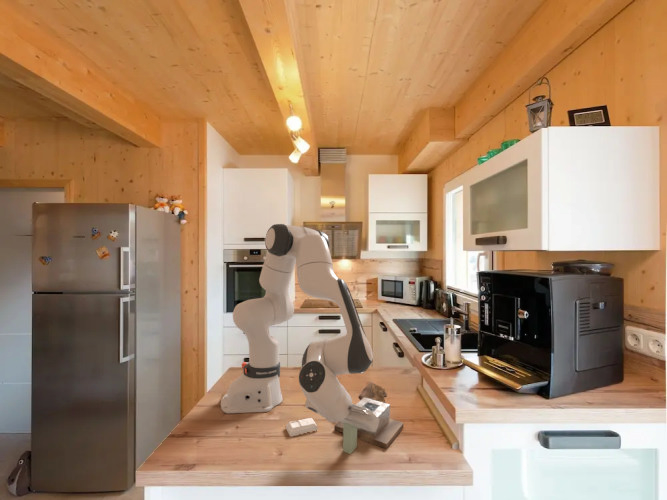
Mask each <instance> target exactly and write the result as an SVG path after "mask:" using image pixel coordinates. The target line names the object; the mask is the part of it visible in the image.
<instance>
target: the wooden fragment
mask: <svg viewBox="0 0 667 500" xmlns="http://www.w3.org/2000/svg"><path fill="white" fill-rule="evenodd" d="M387 396H388V393H387V392H386V391H385V388H383V387H381V386H380V385H377V384H376V383H374V382H372V381H369V383H367V385H365V387H364V388H363V390H362V391H361V393H360V394H359V396H358V398H360V400H362V399H363V398H364V397H365V398H369V399H372V400H376V401H379V402H383V403H386V399H385V397H387Z"/></svg>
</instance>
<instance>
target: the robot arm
mask: <svg viewBox="0 0 667 500" xmlns="http://www.w3.org/2000/svg"><path fill="white" fill-rule="evenodd" d="M264 243H265V249H266V251H267V253H266V256H265V259H264V261H263V265H262V268H261V271H260V275H259V280H258V281H259V285H260V287H261V288H262V289H263V290H265V294H264V296H263V297H257V298H251V299H247V300H244V301H242V302H240V303H238V304H236V305H235V306H234V309H233V312H232V320H233V323H234V325H235V326H236V328H238V329H239V330H240V331H241V332H243V333H244V334H245V336H246V340H247V342H248V355H249V356H248V357H249V359H248V360H249V361H248V363H247V362H246V361H243V362H242V363H241V368H242V372H243V373H242V374H241V375H240V376H239V377H237V378H236V379H235V380H233V381H232V382H231V383H230V385H229V387H228V390H227V393H226V394H225V395H224V396H222V398H221V400H220V409H221V410H222V412H224V413H225V414H247V413H265V412H270V411H271V410H272V409H273V408H274V407H276V406H278V405H279V404H281V403H282V401H283V400H284V399H283V395H282V390H281V386H280V385H281V384H280V376H281V362H280V343H279V340H277V338H276V337H274V336H272V335H271V333H270V327H271V326H275V325H281V324H283V323H285V322H287V321H289V320H291V318H293V316H294V313H295V305H294V302H293V301H292V299H291V298H290V296H289V288H290V284H291V280H292V277H293V273H294V270H295V268H296V276H297V283H298V287H299V288H300V289H301V291H302V292H303V293H304V294H306V295H308V296H310V297H312V298H314V299H320V300H324V301H329V302H334V303H335V304H336V305H337V306H338V307H339V311H340V315H341V317H342V320H343V323H344V327H345V329H346V335H343V336H337V337H332V338H326V339H321V340H316V341H312V342H310V343H309V344H308V346H307V347H306V349H305V351H304V352H303V355H302V359H301V368H300V369H299V373H298V383H299V387H300V389H301V391H302V393H303V395H304V396H305V398H306V400H305V403H304V407H306V409H308V410H309V411H310V410H311V411H312V412H314V413H316V414H318V415H320V416H321V417H323V418H324V419H325V420H327V421H328V422H331V423H338V422H341V423H347V424H350V425H353V426H355V427H356V428H359V429H360V428H361V429H364V430H367V431H370V432H376V430H377V427H378V424H379V419H378V417H377V416H376V415H375V414H374V413H373V412H372V411H370V410H369V409H367V408H364V407H361V406H358V405H356V404H354V403H353V400H352V397H351V395H350V393H349V392H348V391H347V389H346V388H345V387H344V385H343V384H342V383H340V379H338V376H341V375H347V374H348V375H349V374H351V375H352V374H353V375H354V374H355V375H356V374H364V373H365V372H366V371H367V370H368V369H369V368H370V366H371V365H372V363H373V361H374V359H373V358H374V357H373V356H374V355H373V349H372V347H371V344H370V342H369V339H368V338H367V335H366V333H365V330H364V328H363V325H362V321H361V318H360V315H359V313H358V310H357V306H356V304H355V302H354V298H353V295H352V293H351V291H350V289H349V286H348V285H347V283H346V281H344V279H341V278H340V277H338V276H337V275H336V273H335V270H334V265H333V259H332V255H331V250H330V240H329V237H328V234H326V233H325V232H324V231H322V230H318V229H313V228H310V227H306V226H301V225H300V226H298V225H288V224H285V223H276V224H272V225H271V226H270V227H269V228H268V230H267V231H266V235H265V241H264ZM295 266H296V267H295Z"/></svg>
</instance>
